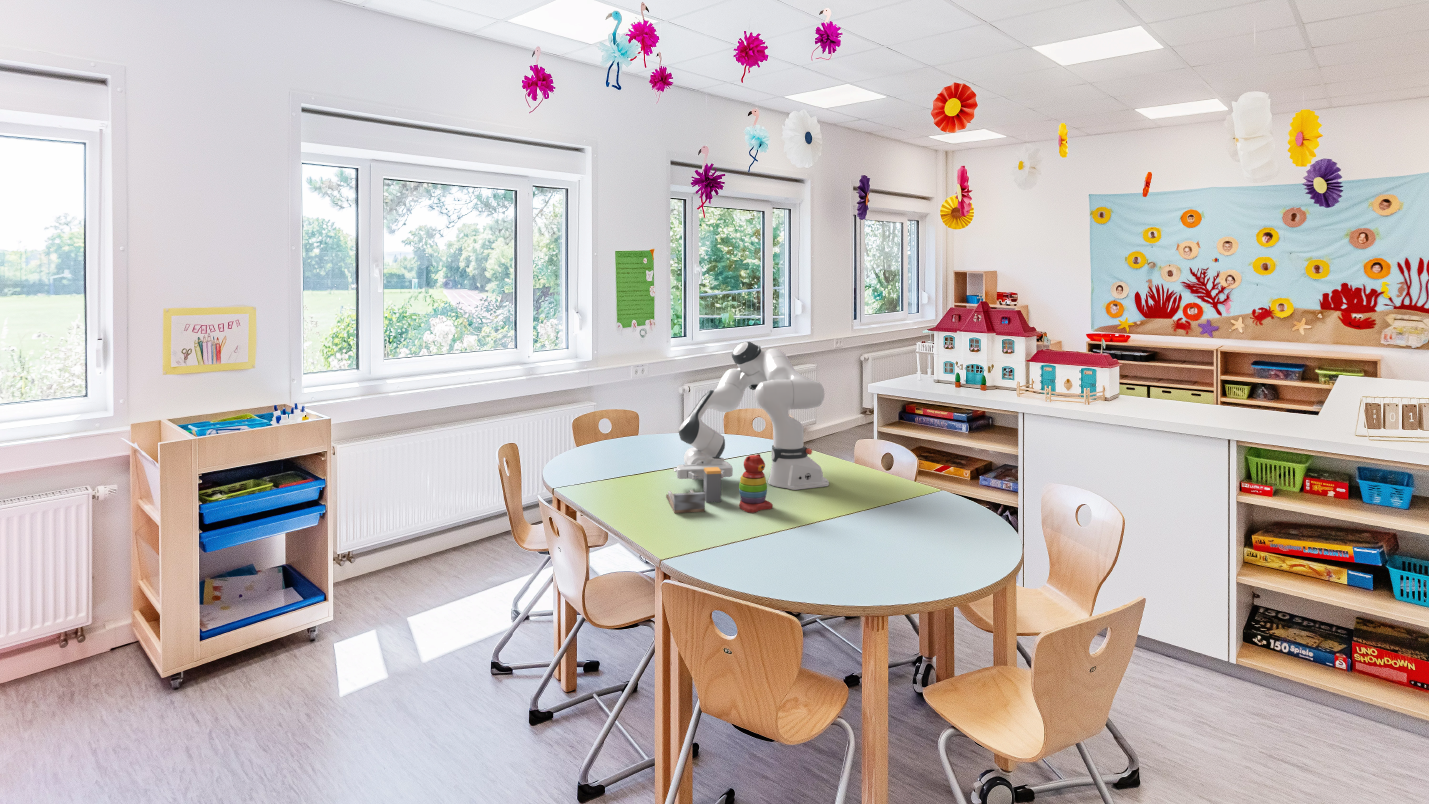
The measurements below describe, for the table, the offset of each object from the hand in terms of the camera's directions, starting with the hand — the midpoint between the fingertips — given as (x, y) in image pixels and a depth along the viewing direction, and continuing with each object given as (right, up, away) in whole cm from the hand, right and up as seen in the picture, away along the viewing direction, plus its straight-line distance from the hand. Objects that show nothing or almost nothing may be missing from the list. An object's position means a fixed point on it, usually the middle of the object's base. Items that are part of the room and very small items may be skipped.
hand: (708, 476), depth 268 cm
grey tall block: (+1, -7, -5) cm, 9 cm away
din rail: (-8, -8, -10) cm, 15 cm away
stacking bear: (+15, -9, -12) cm, 22 cm away
